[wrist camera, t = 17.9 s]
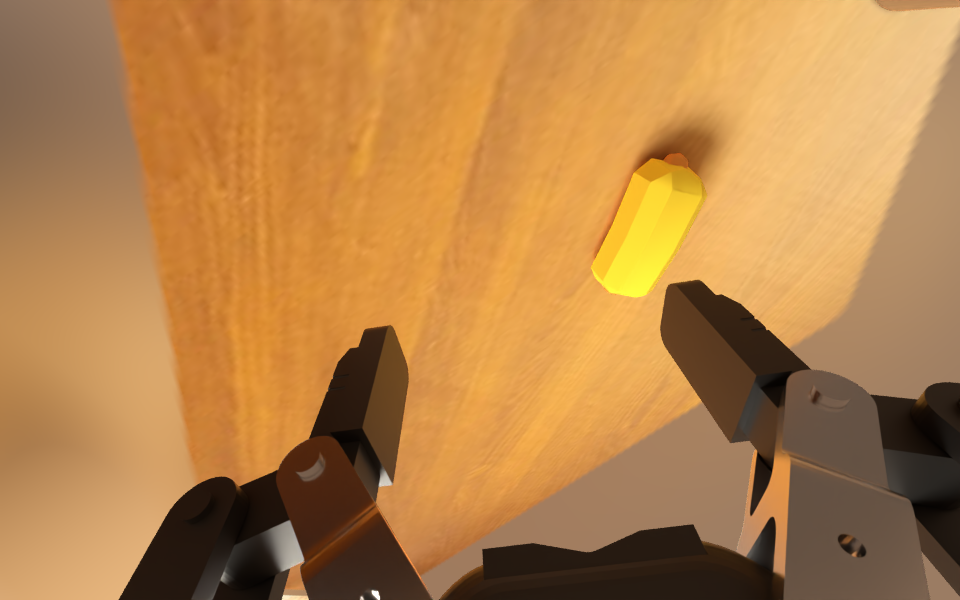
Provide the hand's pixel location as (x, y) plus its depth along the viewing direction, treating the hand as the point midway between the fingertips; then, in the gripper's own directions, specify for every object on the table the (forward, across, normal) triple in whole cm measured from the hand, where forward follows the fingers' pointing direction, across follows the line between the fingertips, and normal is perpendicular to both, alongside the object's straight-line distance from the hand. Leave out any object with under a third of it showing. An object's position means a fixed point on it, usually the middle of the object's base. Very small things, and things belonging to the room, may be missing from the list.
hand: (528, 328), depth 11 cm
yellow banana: (+34, -17, +14) cm, 40 cm away
